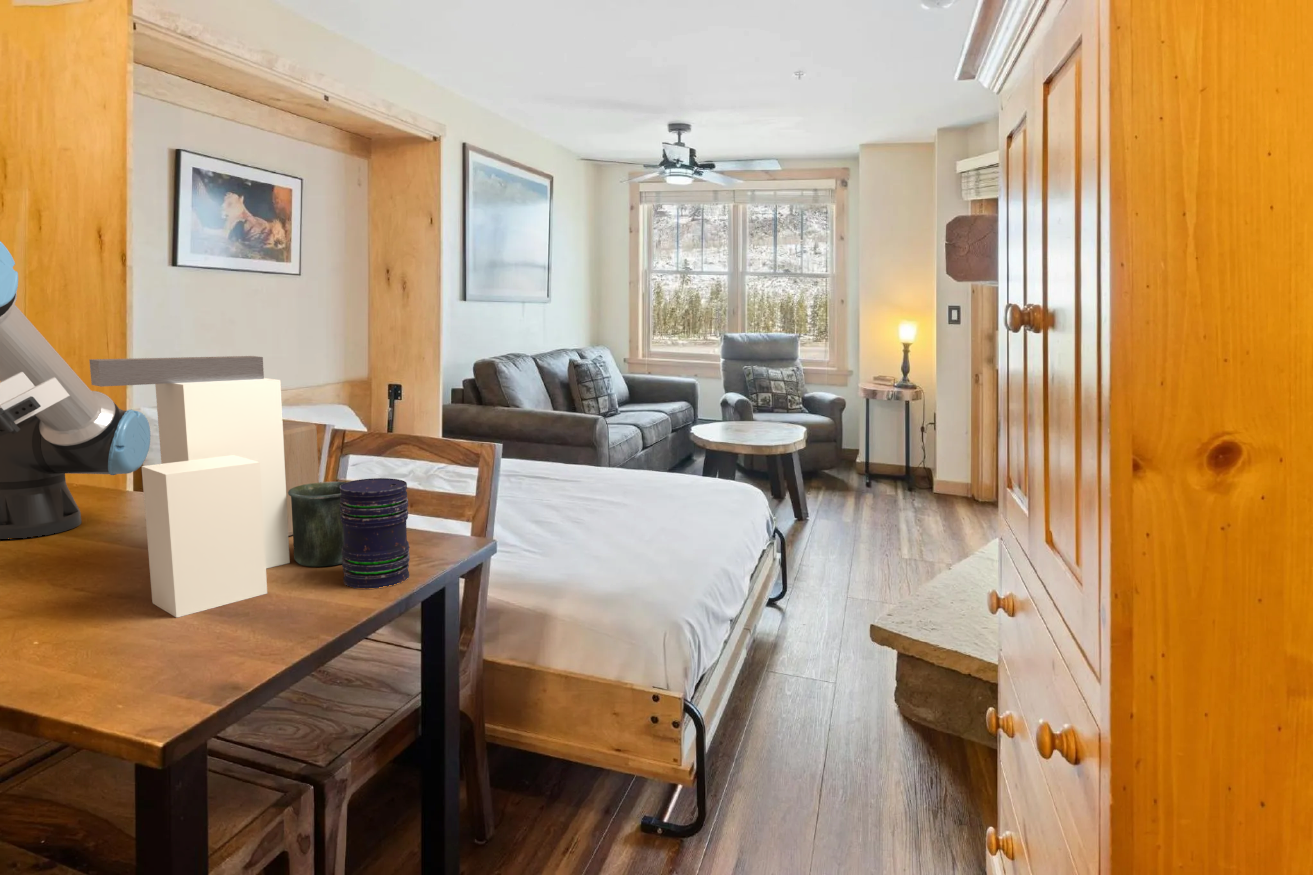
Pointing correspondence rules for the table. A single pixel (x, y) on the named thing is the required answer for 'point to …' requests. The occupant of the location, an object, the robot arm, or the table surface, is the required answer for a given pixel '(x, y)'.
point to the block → (299, 459)
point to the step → (204, 533)
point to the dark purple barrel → (374, 532)
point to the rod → (174, 370)
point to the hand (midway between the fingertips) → (45, 382)
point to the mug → (317, 524)
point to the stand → (232, 439)
